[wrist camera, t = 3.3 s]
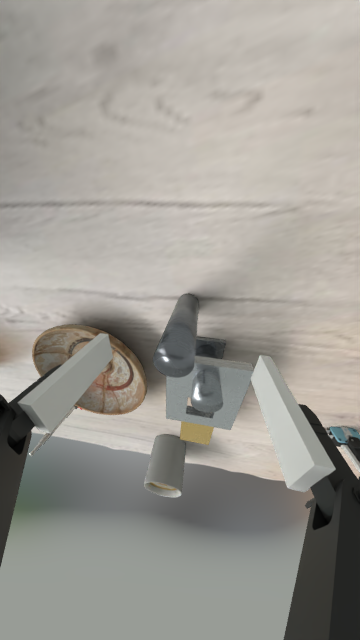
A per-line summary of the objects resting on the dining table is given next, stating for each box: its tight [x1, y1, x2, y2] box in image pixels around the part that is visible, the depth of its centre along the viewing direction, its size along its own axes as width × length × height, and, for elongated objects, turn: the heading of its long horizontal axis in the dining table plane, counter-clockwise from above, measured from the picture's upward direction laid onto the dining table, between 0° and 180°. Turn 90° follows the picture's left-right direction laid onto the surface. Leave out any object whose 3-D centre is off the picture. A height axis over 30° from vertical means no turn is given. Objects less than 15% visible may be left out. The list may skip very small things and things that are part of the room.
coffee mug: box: [144, 435, 186, 497], centre depth 42 cm, size 13×10×10 cm
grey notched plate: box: [166, 337, 254, 445], centre depth 26 cm, size 22×12×10 cm, turn 177°
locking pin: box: [153, 294, 199, 378], centre depth 17 cm, size 3×3×13 cm
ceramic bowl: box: [32, 324, 147, 415], centre depth 31 cm, size 23×24×5 cm
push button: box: [326, 427, 360, 480], centre depth 28 cm, size 7×5×10 cm
